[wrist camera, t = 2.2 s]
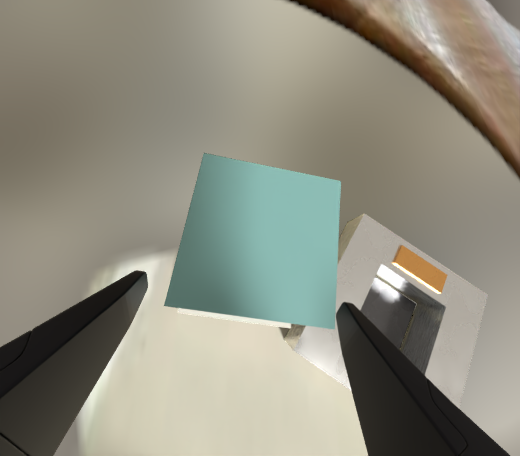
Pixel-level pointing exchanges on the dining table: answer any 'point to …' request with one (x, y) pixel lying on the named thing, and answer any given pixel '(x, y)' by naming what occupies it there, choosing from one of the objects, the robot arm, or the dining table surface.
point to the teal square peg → (259, 244)
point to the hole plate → (400, 307)
